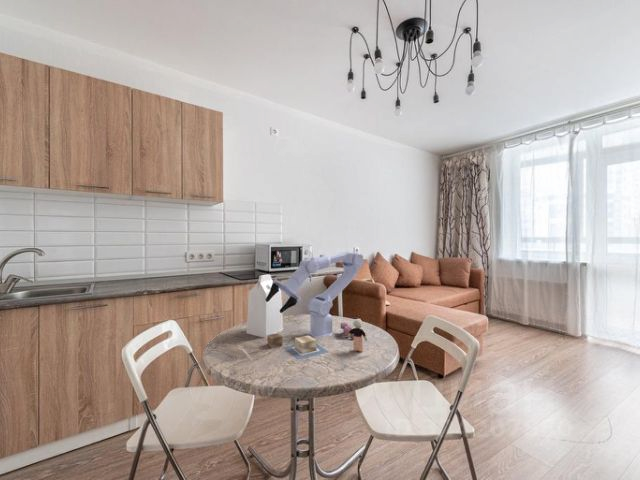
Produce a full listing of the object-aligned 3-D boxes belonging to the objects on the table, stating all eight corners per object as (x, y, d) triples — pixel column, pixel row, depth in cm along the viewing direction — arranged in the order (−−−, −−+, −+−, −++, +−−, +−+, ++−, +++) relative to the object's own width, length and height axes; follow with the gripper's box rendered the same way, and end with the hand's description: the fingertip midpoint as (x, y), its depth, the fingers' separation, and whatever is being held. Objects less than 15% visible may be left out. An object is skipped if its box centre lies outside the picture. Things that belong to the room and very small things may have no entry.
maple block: (308, 345, 115) (308, 335, 115) (316, 350, 110) (316, 340, 110) (295, 348, 112) (295, 338, 112) (302, 353, 107) (302, 343, 106)
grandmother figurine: (368, 351, 110) (368, 318, 110) (366, 355, 107) (366, 321, 106) (348, 348, 113) (348, 316, 113) (346, 352, 109) (346, 319, 109)
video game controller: (344, 335, 132) (337, 322, 132) (353, 330, 132) (346, 317, 132) (348, 343, 122) (340, 329, 122) (357, 338, 122) (350, 324, 122)
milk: (264, 326, 141) (264, 272, 140) (283, 330, 135) (283, 274, 134) (246, 333, 130) (246, 275, 130) (266, 337, 125) (265, 277, 124)
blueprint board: (312, 342, 120) (312, 340, 120) (329, 353, 108) (329, 351, 108) (283, 348, 113) (283, 346, 113) (298, 361, 102) (298, 359, 102)
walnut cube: (277, 344, 118) (277, 333, 118) (282, 347, 114) (282, 336, 114) (267, 346, 116) (267, 335, 116) (271, 350, 112) (271, 338, 112)
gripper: (280, 267, 121) (258, 292, 115) (307, 287, 115) (285, 313, 110) (283, 275, 127) (261, 298, 121) (309, 294, 121) (287, 319, 116)
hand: (273, 306), depth 116 cm, fingers open, 7 cm apart
